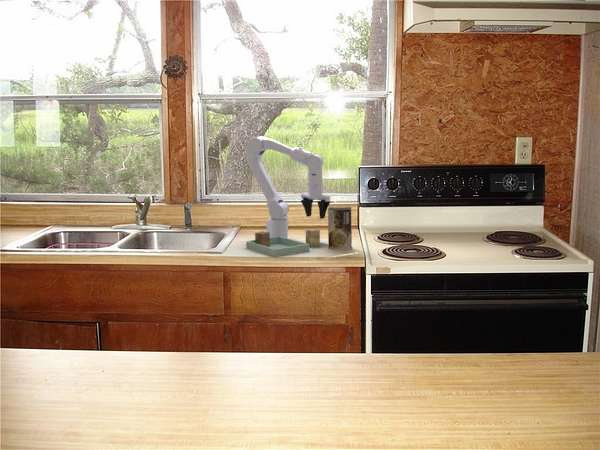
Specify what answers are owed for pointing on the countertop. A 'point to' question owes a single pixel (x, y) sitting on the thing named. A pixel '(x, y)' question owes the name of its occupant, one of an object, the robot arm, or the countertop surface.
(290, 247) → the bin
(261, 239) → the walnut block
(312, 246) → the mat
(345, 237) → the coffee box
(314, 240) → the oak block
